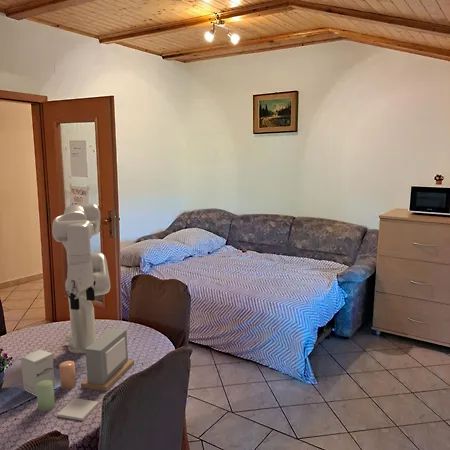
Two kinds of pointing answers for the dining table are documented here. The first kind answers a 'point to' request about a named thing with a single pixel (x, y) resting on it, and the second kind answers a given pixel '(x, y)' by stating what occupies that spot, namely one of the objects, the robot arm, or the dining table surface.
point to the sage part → (45, 395)
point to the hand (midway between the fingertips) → (83, 304)
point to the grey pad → (78, 409)
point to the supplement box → (37, 369)
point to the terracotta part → (67, 375)
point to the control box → (107, 360)
